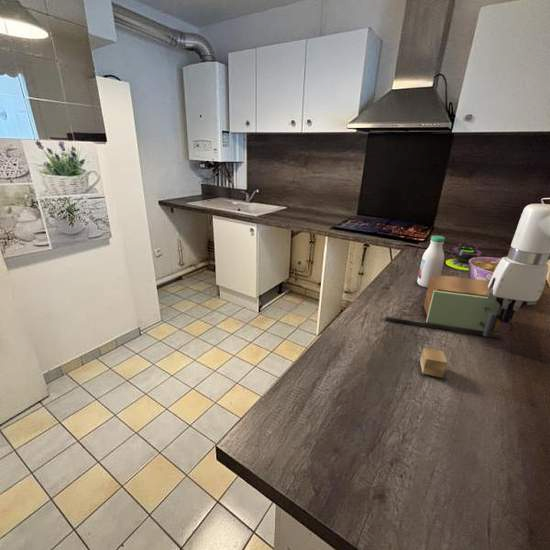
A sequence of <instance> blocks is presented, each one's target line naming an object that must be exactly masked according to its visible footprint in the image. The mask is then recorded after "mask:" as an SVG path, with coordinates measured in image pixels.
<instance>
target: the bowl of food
mask: <svg viewBox="0 0 550 550" xmlns="http://www.w3.org/2000/svg"><path fill="white" fill-rule="evenodd" d="M501 259H502V257H492V256H490V257H489V256H477V257H475V258H471V259H470V260H469V271H468V278H469V279H478V280H487V281H490V279H491V277H492V275H493V273H494V271H495V269H496V267H497V265H498V263H499V262H500V260H501Z"/></svg>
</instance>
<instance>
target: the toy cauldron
mask: <svg viewBox="0 0 550 550" xmlns="http://www.w3.org/2000/svg"><path fill="white" fill-rule="evenodd" d="M466 242H469V241H466ZM469 245H472V244H471V243H469ZM458 246H459V247H458ZM458 246H457V247H453V248H452V249H453V251H454V252H455V253H454V257H455V258H449V259H446V260H445V264H446V265H447V266H449V267H450V268H453V269H456V270H461V271H468V272H469V260H470V259H471V258H475V257H481V251H480V250H477V247H476V244H473V246H475V247H476V248H472V247H466V246H465V247H464V246H461V243H460V244H458Z"/></svg>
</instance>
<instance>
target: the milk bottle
mask: <svg viewBox="0 0 550 550" xmlns="http://www.w3.org/2000/svg"><path fill="white" fill-rule="evenodd" d="M445 240H446V238H445V236H443V235H431V237H430V242H429V243H430V244H429V245H428V247H427V249H425V250H424V253H423V254H422V258H421V262H420V266H419V271H418V275H417V280H416V282H417V285H419V286H421V287H422V288H427V289H428V285H429V281H430V276H431V274H432V275H441V276H442V271H443V268H444V262H445V252H444V245H443V244H445Z"/></svg>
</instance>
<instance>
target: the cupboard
mask: <svg viewBox="0 0 550 550" xmlns="http://www.w3.org/2000/svg"><path fill="white" fill-rule="evenodd" d="M489 282H490V281H487V280H478V279H469V277H468V278H467V277H459V276H449V275H442V274H441V275H432V274H431V276H430V281H429V285H428V288H427V289H426V294H425V299H424V303H423V308H424V311H425V314H426V317H427V316H428V312H429V308H430V303H431V299H432V295H433V291H434V290H435V291H443V292H451V293H459V294H467V295H476V296H484V297H487V296H486V295H487V293H488V292H489V289H488V285H489ZM385 321H388V322H394V323H401V324H407V325H414V326H420V327H427V328H433V329H438V330H444V331H445V330H446V331H452V332H458V333H463V334H464V333H466V334H472V335H477V336H478V335H479V336H483V337H485V336H484V335H483V332H484V331H480V330H473V329H467V328H460V327H453V326H447V325H440V324H434V323H427V322H426V321H422V320H421V321H420V320H414V319H406V318H400V317H393V316H388V315H385ZM500 323H501V322H500V320H499V319H498V317H496V320H495V323H494V326H493V329H492V331H491V334H490V337H491V338H496V339H497V338H498V339H499V338H500V337H501V334H500V333H499V332H498V330H499V326H500ZM490 337H489V338H490Z"/></svg>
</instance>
